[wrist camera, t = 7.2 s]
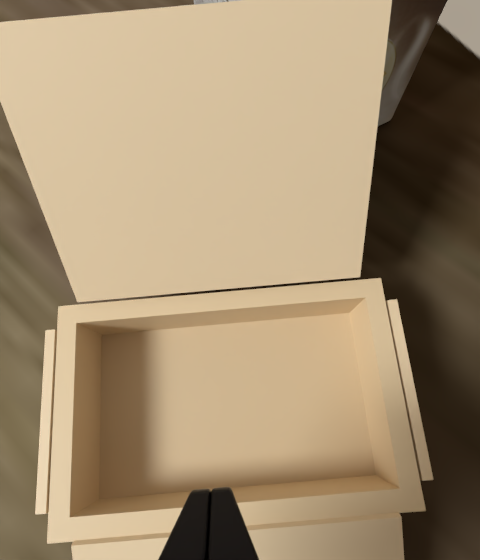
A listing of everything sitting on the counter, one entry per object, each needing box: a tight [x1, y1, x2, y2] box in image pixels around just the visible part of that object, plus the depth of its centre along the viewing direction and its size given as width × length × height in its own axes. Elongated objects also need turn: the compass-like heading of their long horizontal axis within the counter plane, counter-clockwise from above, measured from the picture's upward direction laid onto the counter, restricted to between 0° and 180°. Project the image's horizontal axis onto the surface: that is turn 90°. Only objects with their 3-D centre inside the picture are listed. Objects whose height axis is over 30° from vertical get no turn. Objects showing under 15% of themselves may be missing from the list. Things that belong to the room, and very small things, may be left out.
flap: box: [0, 0, 392, 302], centre depth 15 cm, size 10×12×1 cm
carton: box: [35, 278, 433, 560], centre depth 17 cm, size 18×15×4 cm
